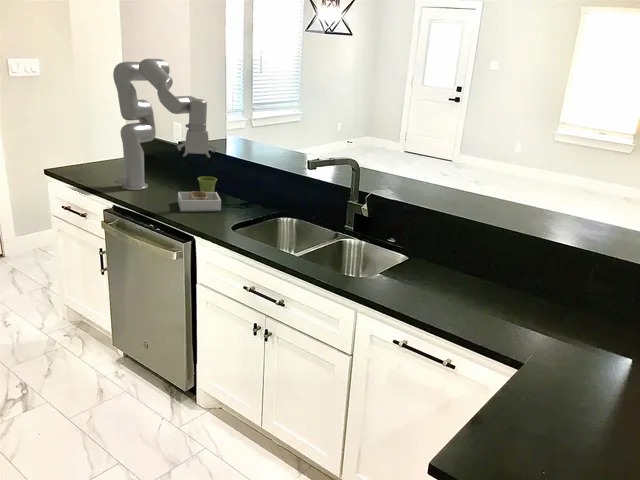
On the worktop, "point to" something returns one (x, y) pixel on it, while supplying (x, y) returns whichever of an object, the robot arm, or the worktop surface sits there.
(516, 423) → the worktop surface
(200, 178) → the plant pot
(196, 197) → the small crate
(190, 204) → the box
